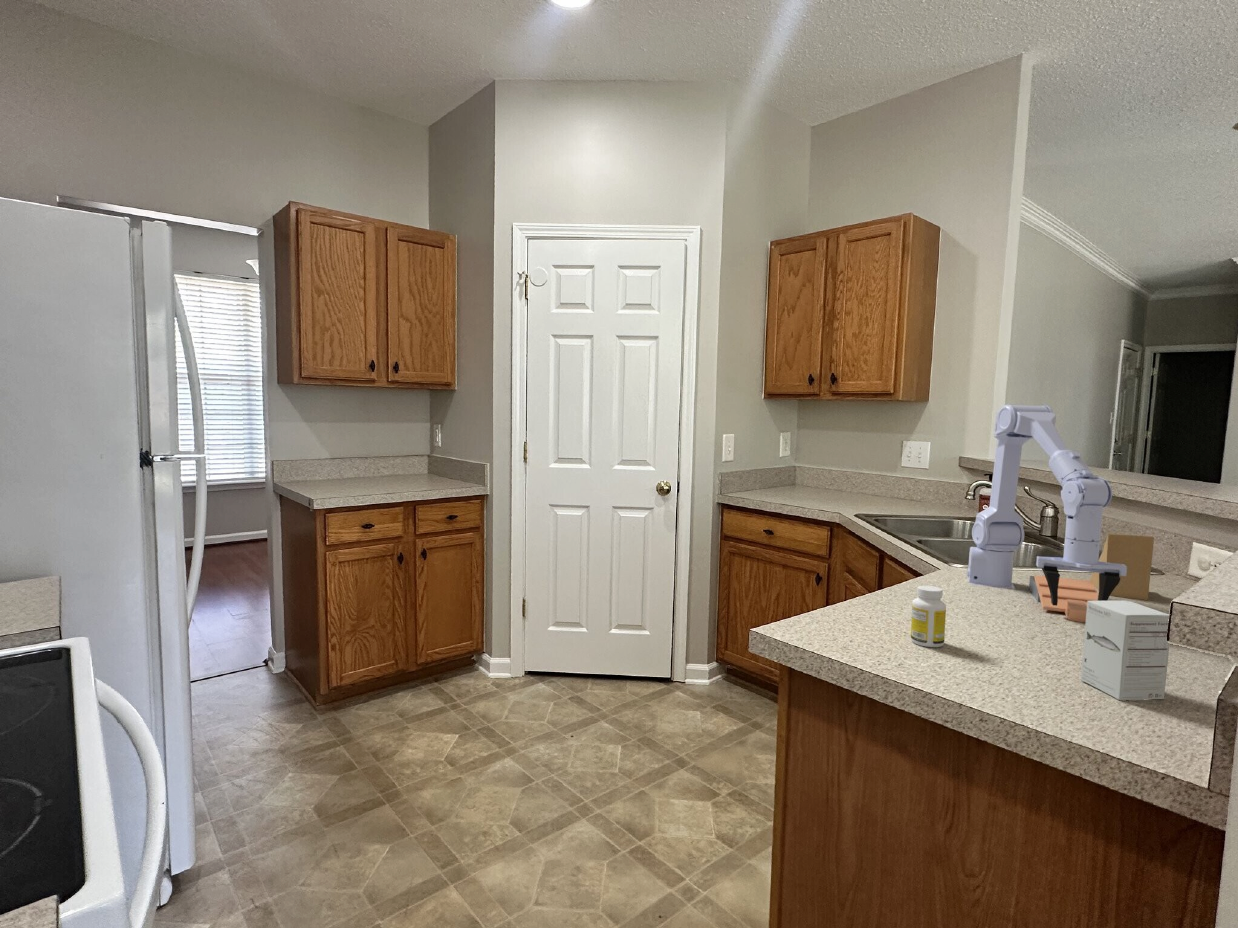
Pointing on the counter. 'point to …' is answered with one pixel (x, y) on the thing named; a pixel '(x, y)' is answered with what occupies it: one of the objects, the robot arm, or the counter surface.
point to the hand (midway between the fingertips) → (1077, 606)
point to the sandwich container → (1129, 563)
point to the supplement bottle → (928, 617)
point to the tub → (1034, 588)
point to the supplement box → (1125, 650)
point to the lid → (1068, 596)
